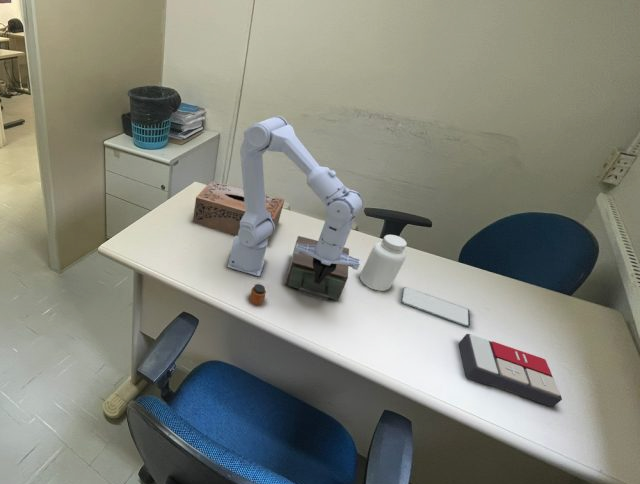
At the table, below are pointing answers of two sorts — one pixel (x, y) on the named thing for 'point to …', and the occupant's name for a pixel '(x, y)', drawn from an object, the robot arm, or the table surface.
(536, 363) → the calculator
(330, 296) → the drawer
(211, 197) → the tissue box cover
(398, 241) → the pill bottle
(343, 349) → the table surface
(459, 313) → the smartphone
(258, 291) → the bottle
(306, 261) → the cabinet
